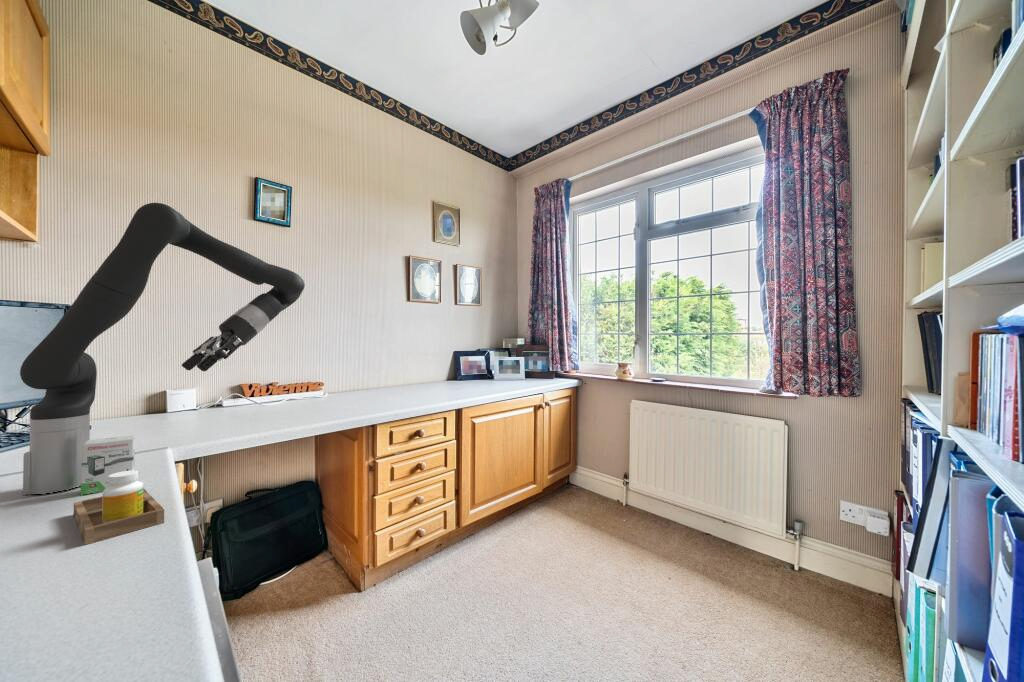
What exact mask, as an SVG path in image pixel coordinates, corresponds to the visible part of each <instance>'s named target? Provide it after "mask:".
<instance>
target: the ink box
mask: <svg viewBox="0 0 1024 682" xmlns="http://www.w3.org/2000/svg"><path fill="white" fill-rule="evenodd" d="M135 438H136V437H135V436H134V435H126V436H125V435H124V436H113V437H104V438H103V437H102V438H94V439H93V438H92V439H90V440H87V441H85V442H84V443H83V444H82V464H81V487H80V491H79V492H80V496H84V495H83V494H88V493H93V494H95V493H94V492H99V491H104V489H106V488H107V487H109V486H110V484H108V476H109V475H111V474H114V473H118V472H123V471H130V470H135V440H136V439H135ZM99 493H100V492H99ZM88 495H89V494H88Z"/></svg>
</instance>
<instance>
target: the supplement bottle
mask: <svg viewBox="0 0 1024 682" xmlns="http://www.w3.org/2000/svg"><path fill="white" fill-rule="evenodd" d="M138 479H139V470H135V469H134V470H130V471H123V472H118V473H114V474H111V475H109V476H108V484H110V486H109V487H107V488H106V489H104V491H103V492H102V496H103V498H102V524H104V523H108V522H112V521H115V520H119V519H123V518H127V517H131V516H135V515H139V514H142V513H143V488H144V483H143V482H142V481H140V480H138Z"/></svg>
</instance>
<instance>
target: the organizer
mask: <svg viewBox="0 0 1024 682" xmlns="http://www.w3.org/2000/svg"><path fill="white" fill-rule="evenodd" d="M102 498H103V495H102V496H98V497H97V496H96V497H93V498H90V499H89V498H88V499H84V500H79V501H74V502H73V517H74V520H75V523H76V525H77V529H78V530H79V533H80V535H81V537H82V540H83V543H84V545H85V546H86V545H90V544H93V542H94V543H97V542H101V541H104V540H103V539H105V540H107V539H111V538H115V537H118V536H122V535H125V534H130V533H133V532H135V531H139V530H143V529H147V528H150V527H153V526H158V525H161V524H164V523H165V509H164V507H163V506H162V505H161V504H160V503H158V501H156V499H155V498H154V497H153V496H152V495H151V494H150V493H149V492H148V491H147V490H146V488H144V487H143V513H142V514H139V515H135V516H131V517H127V518H123V519H119V520H115V521H112V522H108V523H104V524H102ZM100 540H101V541H100ZM96 541H97V542H96Z"/></svg>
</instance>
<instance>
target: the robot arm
mask: <svg viewBox="0 0 1024 682" xmlns="http://www.w3.org/2000/svg"><path fill="white" fill-rule="evenodd" d="M124 231H125V232H124V234H123V236H122V237H121V239H120V240H119V242H118V243H117V244H116V246H115V247H114V249H113V250H112V251H111V252H110V253H109V254H108V256H107V257H106V258H105V259H104V261H103V262H102V264H101V265H100V266H99V267H98V268H97V270H96V271H95V272H94V274H93V275H92V276H91V277H90V279H89V280H88V281H87V282H86V283H85V285H84V286H83V288H82V290H80V293H79V294H78V296H77V297H76V299H75V300H74V301H73V303H72V304H71V305H70V306H69V308H68V309H67V310H66V311H65V313H64V315H62V317H61V318H60V320H59V321H58V322H57V324H56V325H55V326H54V327H53V328H52V330H51V331H50V332H49V333H48V334H47V335H46V336H44V338H43V339H42V341H41V342H40V343H39V344H37V346H36V347H34V349H33V350H32V351H31V352H30V353H29V354H28V355H27V356H26V357H25V359H23V360H24V361H22V364H21V365H20V370H19V375H20V379H21V381H22V383H23V384H25V385H26V386H27V387H29V388H31V389H35V390H45V394H44V396H43V398H42V399H41V400H40V401H39V402H38V403H36V404H35V405H33V406H32V407H31V408H30V411H29V451H26V452H24V453H23V459H22V460H23V464H22V465H23V467H22V468H23V470H22V471H23V473H22V475H23V476H22V495H23V494H27V495H31V494H42V495H47V494H46V493H50V494H54V493H53V492H57V491H62V492H64V491H63V490H67V489H71V488H75V487H78V486H81V464H82V444H83V443H84V442H85V441H87V440H91V439H90V437H91V436H90V429H91V428H90V427H91V423H90V422H91V414H90V413H91V407H92V405H93V404H94V401H95V397H96V389H97V378H98V377H97V375H98V373H97V372H98V371H97V365H96V361H95V359H94V358H93V356H91V355H90V354H88V353H87V352H85V351H86V350H87V349H88V347H89V346H90V344H92V342H94V340H95V339H97V338H98V337H99V336H100V335H102V334H103V333H105V332H106V331H107V330H109V329H110V328H111V327H113V326H115V325H116V324H117V323H118V322H120V321H121V320H122V319H124V318H125V317H126V316H128V314H129V313H130V311H132V309H133V308H134V307H135V305H136V303H137V302H138V301H139V299H140V297H141V296H142V295H143V294H144V293H143V292H145V291H144V290H145V289H146V286H147V284H148V281H149V278H150V274H151V270H152V267H153V264H154V263H155V261H156V259H157V258H158V256H159V255H160V254H161V253H162V252H163V250H164V249H165V248H166V247H167V246H168V245H172V246H174V247H177V248H180V249H183V250H186V251H189V252H192V253H194V254H197V255H199V256H200V257H202V258H204V259H206V260H209V261H210V262H212V263H214V264H216V265H217V266H219V267H220V268H223V269H224V270H226V271H228V272H230V273H232V274H234V275H236V276H237V277H239V278H241V279H244V280H246V281H247V282H249V283H252V284H254V285H257V286H261V285H264V284H265V285H269V286H271V287H272V288H271V289H270V290H269V291H266V292H264V293H261V294H259V295H257V296H256V297H255V298H253V299H252V300H251V301H250V302H248V303H247V304H246V305H244V306H243V307H241V308H239V309H238V310H237V311H235V312H234V313H233V314H232V315H230V316H228V317H227V318H226V319H225V320H224V321H223V322H221V323H220V325H219V326H218V330H219V331H220V333H221V334H220V335H218V336H216V335H215V336H213V335H212V336H210V337H209V338H208V339H207V340H205V341H204V342H202V343H201V344H200V345H199V346H197V347H196V348H195V349H193V350H192V353H193V354H192V355H191V356H190V357H189V358H187V359H186V360H185V361H184V362H182V363H181V367H182V368H184V370H186V371H191V370H193V369H195V367H197V368H198V369H199V370H200V371H202V372H207V371H208V370H209V369H210V368H212V367H213V366H214V365H215V364H216V363H217V362H218V361H219V362H220V361H223V359H224V360H226V359H228V358H229V357H230V356H231V355H233V353H234V352H236V351H237V350H238V349H239V348H240V347H241V346H246V345H247V344H248V343H249V342H250V341H251V340H253V338H255V337H256V336H257V335H258V334H259V333H260V332H262V331H263V330H264V329H265V328H266V327H267V326H268V324H270V322H272V321H273V320H274V319H275V318H277V316H278V315H279V314H280V313H281V312H283V311H285V310H286V309H287V308H288V307H291V306H292V305H293V304H294V303H296V301H297V300H298V299H299V298H300V297H301V295H302V293H303V292H304V289H305V287H306V286H305V280H304V279H303V278H302V277H301V276H300V275H299V274H298V273H296V272H294V271H292V270H289V269H288V268H284V267H280V266H278V265H275V264H270V263H267V262H266V261H264V260H263V259H261V258H259V257H257V256H255V255H253V254H251V253H249V252H247V251H245V250H242V249H240V248H238V247H236V246H234V245H231V244H229V243H227V242H225V241H222V240H220V239H219V238H216V237H214V236H212V235H211V234H209V233H207V232H205V231H204V230H202V229H201V228H199V227H197V226H196V225H195V224H193V223H192V222H191V221H189V220H188V219H186V218H185V216H184V215H183V214H181V213H180V212H179V211H177V210H176V209H175V208H173V207H172V206H170V205H168V204H165V203H162V202H150V203H146V204H144V205H142V206H140V207H139V208H138V209H137V210H136V211H135V213H134V214H133V216H132V218H131V220H130V222H129V224H128V225H127V228H126V229H125V230H124ZM78 488H79V487H78ZM75 489H76V488H75ZM71 490H72V489H71ZM67 491H68V490H67ZM57 493H58V492H57Z"/></svg>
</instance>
